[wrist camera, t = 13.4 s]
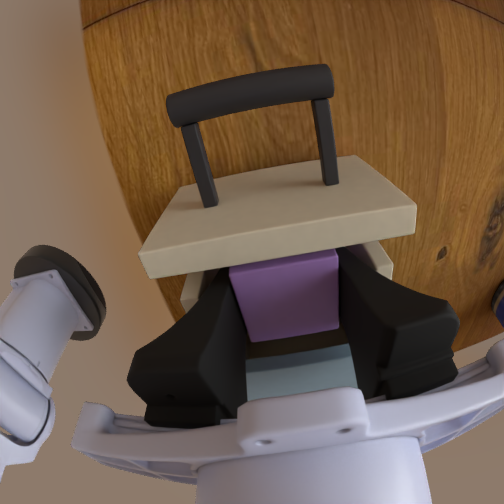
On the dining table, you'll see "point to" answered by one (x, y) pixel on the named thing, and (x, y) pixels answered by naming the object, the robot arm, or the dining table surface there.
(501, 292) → the pill bottle
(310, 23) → the dining table surface
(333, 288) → the cube
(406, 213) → the beige drawer
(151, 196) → the dining table surface
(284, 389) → the grey drawer box
